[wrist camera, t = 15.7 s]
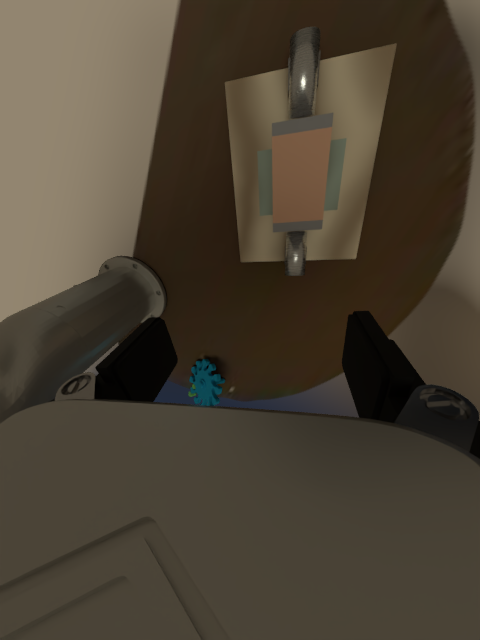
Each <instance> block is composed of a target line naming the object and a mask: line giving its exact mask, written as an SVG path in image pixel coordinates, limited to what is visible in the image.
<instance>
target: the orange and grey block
mask: <svg viewBox="0 0 480 640" xmlns="http://www.w3.org/2000/svg"><path fill="white" fill-rule="evenodd" d="M332 123H333V113H328V114H322V115H316V116H311V117H305V118H299V119H294V120H288V121H282V122H276V123H272V188H273V232H287V231H303V230H319V229H322V224H323V214H324V204H325V194H326V183H327V173H328V163H329V153H330V143H331V133H332Z"/></svg>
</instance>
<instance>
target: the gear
mask: <svg viewBox="0 0 480 640" xmlns="http://www.w3.org/2000/svg"><path fill="white" fill-rule="evenodd" d="M209 363H210V361H209V360H208V359H203V361H196V365H197V366H194V367H192V369H191V370H192V372H193V374H194V376H190V380H189V381H190V382H192V383H193V385H192V387H191V391H190V392H189V396H190V397H191V396H195V395H196V393H198V397H195V398H194V401H195V404H197V403H200V401H201V399H202V400H203V402H202V403H201V404H200V405H207V406H214V405H215V404H218V403H219V402H220V400H219V398H218V397H217V395H218V394H221V392H222V387H220V386H217V385H216V384H221V383H224V382H225V379H224V378H221V377H220V374H215V375H212V374H211V371H214V370H216V366H215V364H210V365H209ZM207 365H209V367H208V369H207ZM216 394H217V395H216ZM207 401H208V404H207Z"/></svg>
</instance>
